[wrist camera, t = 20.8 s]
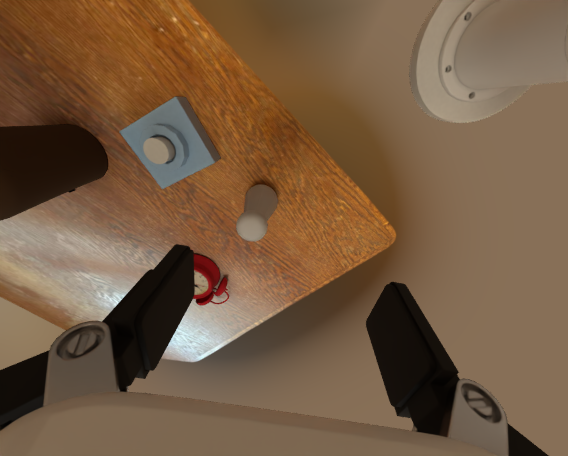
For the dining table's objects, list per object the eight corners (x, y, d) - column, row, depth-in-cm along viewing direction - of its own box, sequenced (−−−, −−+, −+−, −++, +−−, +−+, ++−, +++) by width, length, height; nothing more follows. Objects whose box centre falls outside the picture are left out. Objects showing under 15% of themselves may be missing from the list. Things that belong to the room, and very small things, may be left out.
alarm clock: (182, 251, 43) (231, 306, 46) (199, 239, 49) (242, 289, 51) (153, 275, 47) (199, 325, 49) (172, 262, 53) (213, 307, 55)
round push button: (164, 131, 32) (157, 133, 30) (180, 155, 33) (173, 158, 31) (146, 142, 33) (137, 144, 31) (162, 165, 34) (154, 168, 32)
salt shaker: (275, 212, 42) (267, 252, 31) (246, 207, 42) (227, 244, 31) (281, 184, 39) (275, 216, 28) (249, 177, 39) (230, 207, 28)
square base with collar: (185, 97, 33) (169, 95, 29) (221, 158, 38) (211, 165, 33) (132, 129, 36) (110, 133, 32) (171, 183, 40) (156, 192, 36)
